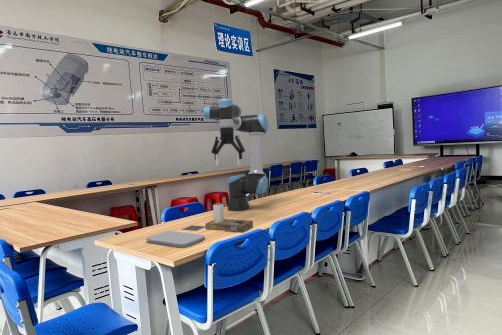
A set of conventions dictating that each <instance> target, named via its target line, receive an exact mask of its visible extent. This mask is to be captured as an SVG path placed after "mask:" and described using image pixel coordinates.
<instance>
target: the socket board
mask: <svg viewBox="0 0 502 335" xmlns="http://www.w3.org/2000/svg"><path fill="white" fill-rule="evenodd" d="M204 226H205V227H204V228H205V230H209V231H221V232H222V231H223V232H228V233H229V232H230V233H245V232H247V231H248V230H251V229H252V228H253V227H254V222H253V220H249V219H248V220H247V219H246V220H245V219H233V218H232V219H230V218H224V222H222V223H219V222H214V219H212V220H211V221H208V222H205V224H204Z"/></svg>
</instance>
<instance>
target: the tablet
mask: <svg viewBox="0 0 502 335" xmlns="http://www.w3.org/2000/svg"><path fill="white" fill-rule="evenodd" d="M205 238H206V236H205V235H204V234H198V233H190V232H183V231H174V230H166V231H162V232H159V233H156V234H154V235H153V234H152V235H150V236H147V237H146V238H145V240H146V241H147V243H148V242H149V244H154V243H155V244H156V245H160V244H161V245H162V246H166V247H173V246H174V248H179V247H180V249H181V248H182V249H183V248H184V249H185V248H188V247H191V246H193V245H195V244H198V243H200V242H203V241H204V239H205ZM155 244H154V245H155Z"/></svg>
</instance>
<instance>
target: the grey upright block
mask: <svg viewBox="0 0 502 335" xmlns="http://www.w3.org/2000/svg"><path fill="white" fill-rule="evenodd" d="M212 207H213V208H212V210H213V211H212V212H213V220H214V222H219V223H222V222H224V219H225V213H224V211H225V209H224V204H222V203H221V202H219V203H218V202H217V203H214V204H213V205H212Z"/></svg>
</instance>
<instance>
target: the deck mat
mask: <svg viewBox="0 0 502 335" xmlns="http://www.w3.org/2000/svg"><path fill="white" fill-rule="evenodd" d="M204 228H205V225H188V226H187V227H184V228H182V229H180V230H182V231H191V232H192V231H193V232H198V231H200V230H202V229H204Z"/></svg>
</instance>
